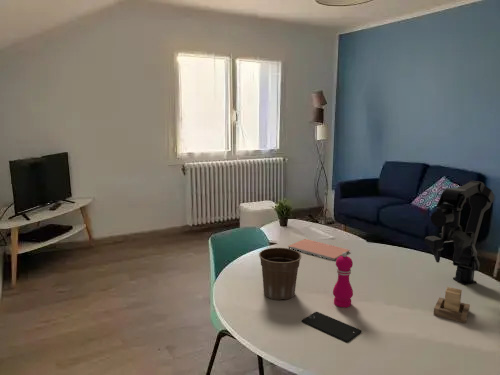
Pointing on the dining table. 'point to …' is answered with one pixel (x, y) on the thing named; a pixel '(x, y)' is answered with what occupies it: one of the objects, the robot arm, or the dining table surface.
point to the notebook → (318, 249)
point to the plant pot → (279, 272)
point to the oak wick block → (452, 299)
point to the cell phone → (332, 326)
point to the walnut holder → (451, 314)
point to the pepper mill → (343, 281)
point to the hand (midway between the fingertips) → (447, 261)
